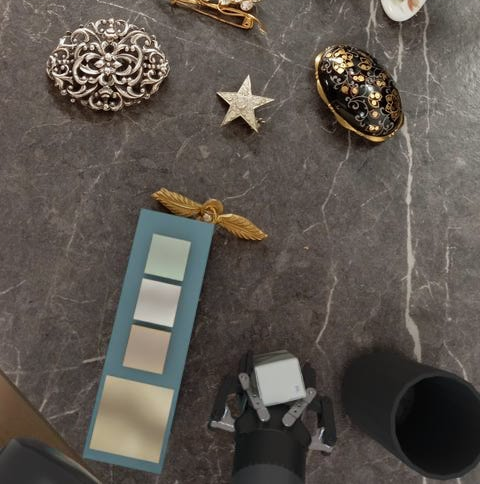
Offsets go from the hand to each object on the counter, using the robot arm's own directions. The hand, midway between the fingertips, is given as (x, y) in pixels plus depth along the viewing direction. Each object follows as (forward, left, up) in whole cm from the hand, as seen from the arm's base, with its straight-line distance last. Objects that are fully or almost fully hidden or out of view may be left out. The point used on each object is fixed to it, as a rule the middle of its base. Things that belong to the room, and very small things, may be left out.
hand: (277, 361), depth 105 cm
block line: (-13, +6, +13) cm, 20 cm away
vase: (+13, -8, -15) cm, 22 cm away
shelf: (-13, +7, -15) cm, 21 cm away
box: (-1, -2, -7) cm, 7 cm away
